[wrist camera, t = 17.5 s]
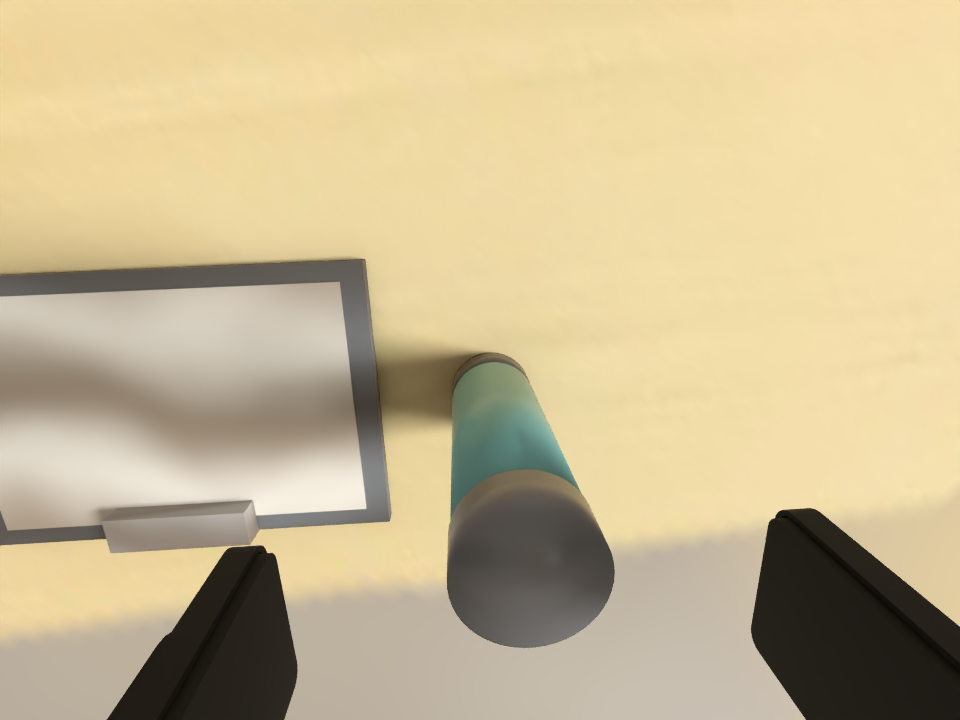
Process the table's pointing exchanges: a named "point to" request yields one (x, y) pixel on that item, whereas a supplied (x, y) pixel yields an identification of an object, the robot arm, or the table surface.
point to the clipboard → (188, 404)
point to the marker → (517, 516)
